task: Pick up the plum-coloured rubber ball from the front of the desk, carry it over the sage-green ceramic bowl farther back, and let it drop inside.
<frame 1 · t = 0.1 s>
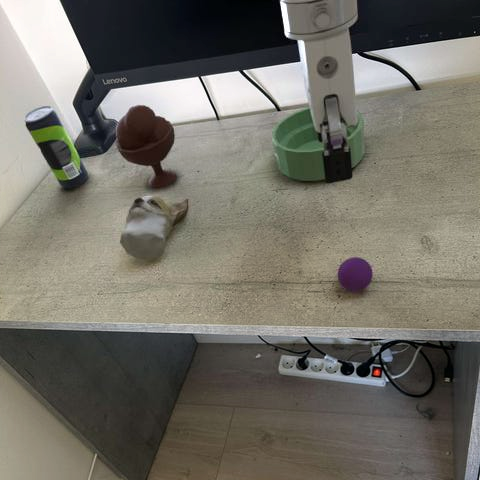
hand: (334, 158, 62), 13 cm above the table, tool pointing down, fingers open, 9 cm apart
ice cream bowl: (162, 181, 95), on the table
beverage can: (75, 182, 103), on the table
ceramic sculpture: (157, 240, 82), on the table
ball: (354, 274, 63), point 2 cm above the table
green bowl: (320, 158, 87), on the table
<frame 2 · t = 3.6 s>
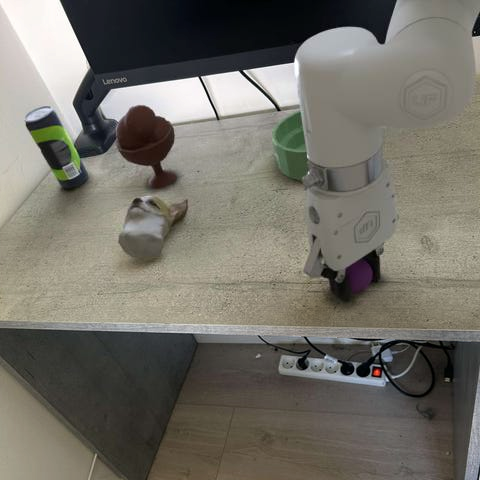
hand: (355, 284, 64), 0 cm above the table, tool pointing down, fingers closed on ball, 4 cm apart
ball: (354, 274, 63), point 2 cm above the table, touching gripper
everything else where it was.
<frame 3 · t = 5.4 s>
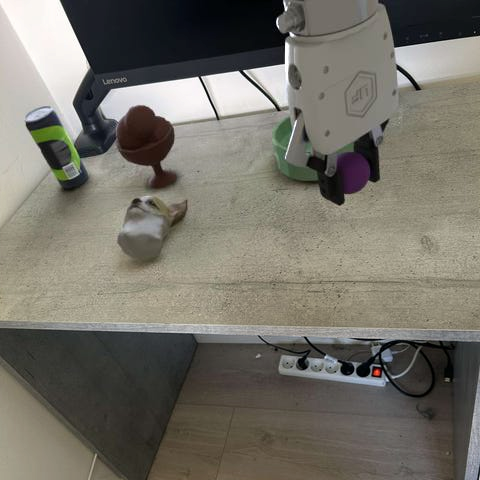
hand: (350, 187, 54), 15 cm above the table, tool pointing down, fingers closed on ball, 4 cm apart
ball: (349, 173, 53), point 17 cm above the table, touching gripper
everything else where it was.
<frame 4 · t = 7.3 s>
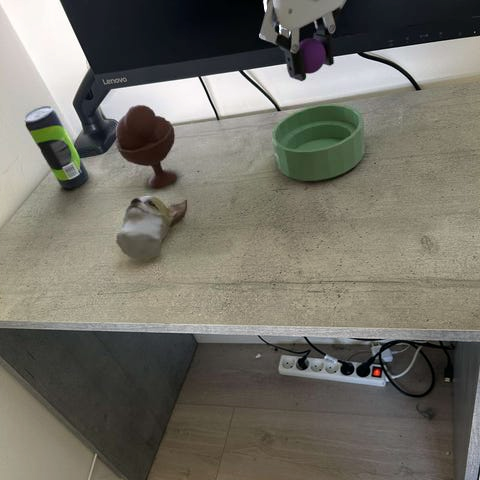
hand: (311, 69, 70), 18 cm above the table, tool pointing down, fingers closed on ball, 4 cm apart
ball: (309, 56, 69), point 20 cm above the table, touching gripper
everything else where it was.
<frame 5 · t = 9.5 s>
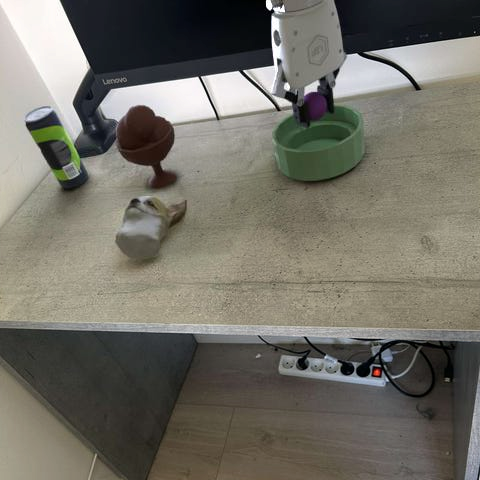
hand: (315, 117, 81), 8 cm above the table, tool pointing down, fingers closed on ball, 4 cm apart
ball: (313, 106, 80), point 10 cm above the table, touching gripper
everything else where it was.
when the fingers open (3 cm above the table, at t = 11.2 s): ball drops 2 cm, resting on green bowl.
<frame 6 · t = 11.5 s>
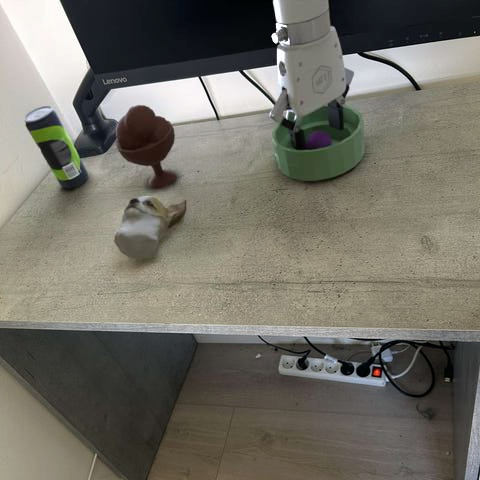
hand: (318, 138, 84), 4 cm above the table, tool pointing down, fingers open, 7 cm apart
ball: (318, 144, 85), point 3 cm above the table, touching green bowl
everything else where it was.
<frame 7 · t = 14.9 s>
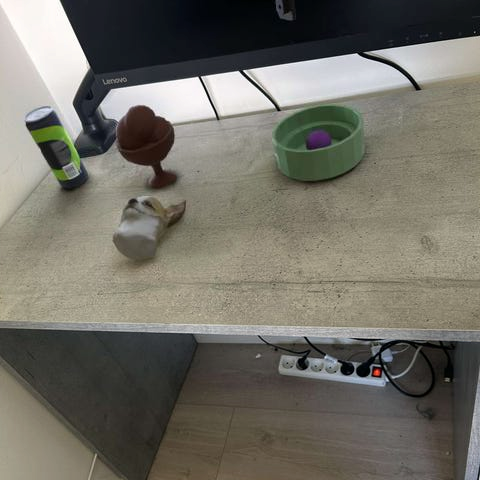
hand: (315, 4, 68), 24 cm above the table, tool pointing down, fingers open, 9 cm apart
nothing on the table moved.
at the end: ball inside the target area in the green bowl (0.1 cm from its centre), point 2.8 cm above the green bowl's base; the gripper is holding nothing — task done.
